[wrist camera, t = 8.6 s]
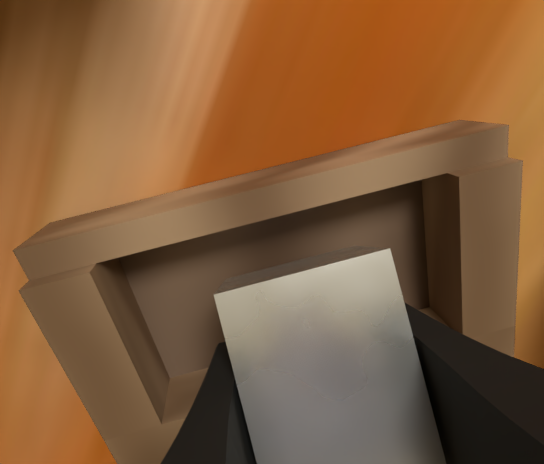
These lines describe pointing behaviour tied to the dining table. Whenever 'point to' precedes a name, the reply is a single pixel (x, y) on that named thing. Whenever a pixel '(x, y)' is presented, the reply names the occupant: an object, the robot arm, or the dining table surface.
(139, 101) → the dining table surface
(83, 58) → the dining table surface
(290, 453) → the bar
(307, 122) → the dining table surface
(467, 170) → the board
